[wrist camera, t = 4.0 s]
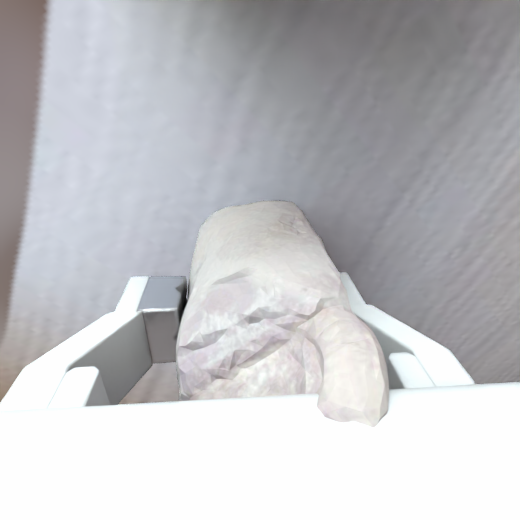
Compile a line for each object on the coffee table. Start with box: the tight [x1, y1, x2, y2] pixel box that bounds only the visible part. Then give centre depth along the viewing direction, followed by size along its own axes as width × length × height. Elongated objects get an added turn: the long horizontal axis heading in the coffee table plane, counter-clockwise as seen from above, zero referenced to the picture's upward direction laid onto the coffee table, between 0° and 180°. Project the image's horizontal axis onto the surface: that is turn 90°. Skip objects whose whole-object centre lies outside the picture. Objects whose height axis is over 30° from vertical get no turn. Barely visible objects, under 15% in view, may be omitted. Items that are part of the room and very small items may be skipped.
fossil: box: [176, 201, 389, 427], centre depth 9 cm, size 6×4×10 cm, turn 156°
